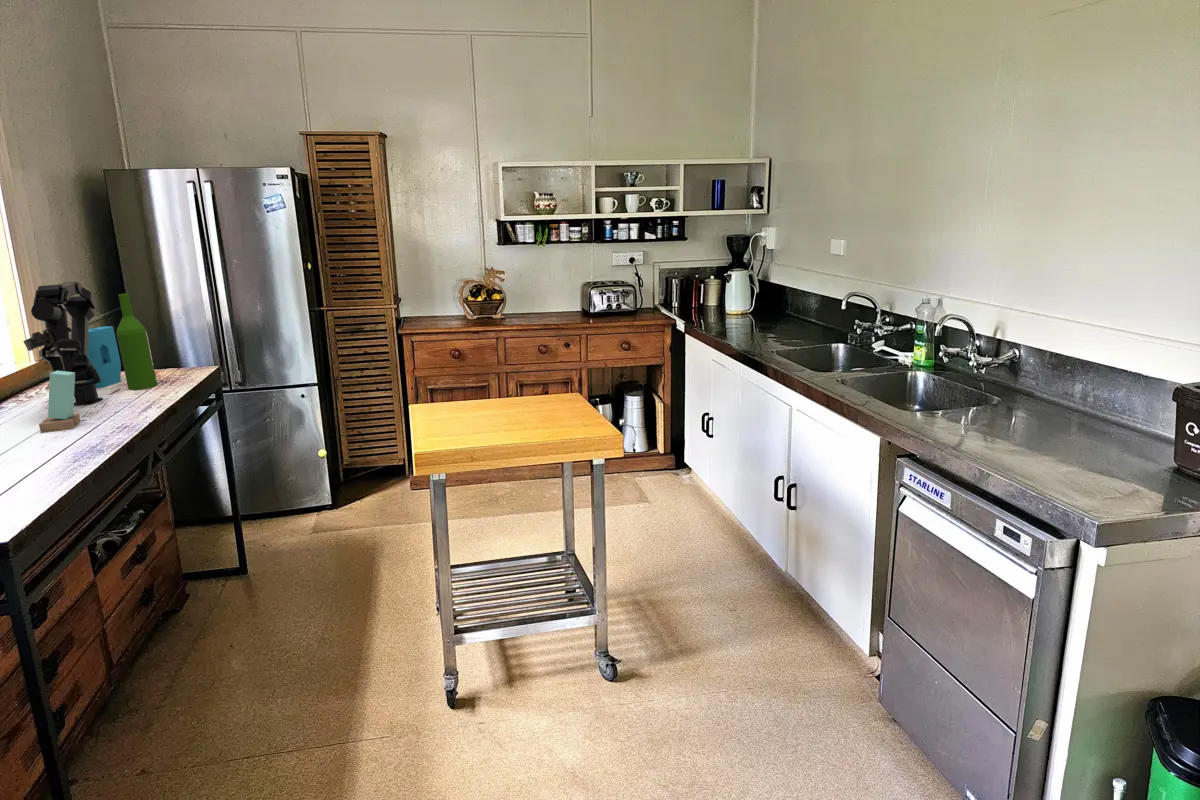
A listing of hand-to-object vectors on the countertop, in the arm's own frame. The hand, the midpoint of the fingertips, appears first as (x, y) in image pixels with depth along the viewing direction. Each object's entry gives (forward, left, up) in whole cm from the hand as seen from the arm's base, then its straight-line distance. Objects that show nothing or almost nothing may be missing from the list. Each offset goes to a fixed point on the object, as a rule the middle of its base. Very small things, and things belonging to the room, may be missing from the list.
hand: (63, 376), depth 234 cm
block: (-40, -15, -12) cm, 45 cm away
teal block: (+13, +6, -9) cm, 17 cm away
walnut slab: (+13, +6, -13) cm, 19 cm away
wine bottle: (-34, +2, -12) cm, 37 cm away
